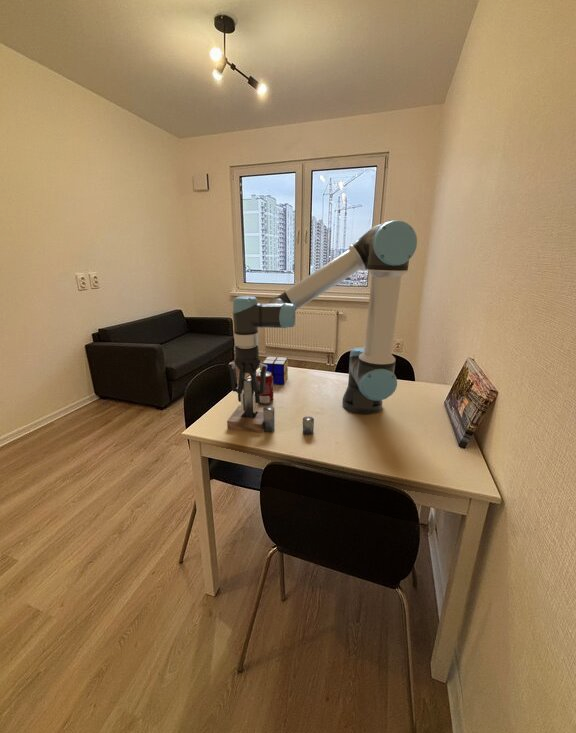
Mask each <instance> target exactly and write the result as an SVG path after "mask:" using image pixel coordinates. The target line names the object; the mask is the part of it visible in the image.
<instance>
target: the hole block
mask: <svg viewBox="0 0 576 733" xmlns="http://www.w3.org/2000/svg"><path fill="white" fill-rule="evenodd" d="M257 408H258V409H257V411H256V413H255V418H245V414H244V412H241V404H239V405H238V406H237V407H236V409H235V410H234V411H232V414H231V415H230V416H229V417H228V419H227V421H226V423H227V424H226V427H227V428H226V429H228V430H235V431H242V432H243V431H244V432H253V433H254V432H255V433H263V432H264V415H263V408H264V407H261V406H257Z"/></svg>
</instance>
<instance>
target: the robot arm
mask: <svg viewBox="0 0 576 733" xmlns="http://www.w3.org/2000/svg"><path fill="white" fill-rule="evenodd" d="M417 246H418V237H417V233H416V231H415V229H414V228H413V227H412V225H410V224H409V223H408V222H405V221H403V220H399V219H397V220H395V219H393V220H387V221H384V222H383V223H379V224H377V225H374V226H373V227H371V228H370V229H369V230H367V231H366V233H364V234H363V235H362V236H361V237H359V238H358V239H356V240H355V241H354V242H352V243H351V244H349V246H348V249H347V250H345V251H344V252H343V253H341V254H340V255H339V256H337V257H335V258H334V259H332V260H330V261H329V262H328V263H325V264H324V265H323V266H322V267H320V268H318V269H317V270H315V271H313V273H311V274H309V275H308V276H306V277H305V278H303V279H302V280H300V281H299V282H297V283H296V284H294V285H293V286H291V287H289V289H287V290H285V291H284V292H282V293H280V294H279V295H277V296H274V297H273V298H271V299H270V300H269V302H268V303H267V302H266V303H261V302H259V301H258V299H257V297H255V296H253V295H250V296H249V295H240V296H236V297H234V298H233V300H232V307H233V308H232V315H233V316H232V317H233V319H232V320H233V330H234V331H233V333H234V345H235V347H234V351H235V353H234V354H235V360H234V361H230V362H229V363H228V364H227V369H228V371H229V375H230V376H229V377H230V383H231V391H232V392H234V393H235V392H236V394H237V401H238V402H240V405H241V412H244V394H243V379H244V378H246V374H249V376H250V378H251V379H252V384H253V388H254V394H253V413H256V411H257V409H258V408H257V407H258V404H260V403H259V401H260V394H263V393H264V391H265V380H266V369H267V367H268V365H267V364H265V365H264V364H262V363H263V362H262V363H261V360H260V351H259V350H260V349H259V345H258V344H259V328H261V329H262V328H275V329H277V328H281V329H286V328H294V327H295V326H296V311H297V310H299V309H301V308H302V307H303V306H305V305H307V304H309V303H310V302H311V301H313V300H314V299H316V298H318V297H319V296H321V295H322V294H324V293H326V292H327V291H329V290H330V289H331V288H334V287H335V286H337V285H338V284H340V283H341V282H343V281H344V280H346V279H348V278H349V277H351V276H352V275H354V274H355V273H357V272H358V271H360V270H361V271H366V270H367V272H368V273H369V274H370V276H371V280H370V290H369V298H368V309H367V310H368V311H367V321H366V330H365V340H364V346H363V347H362V346H361V347H354V348H352V349H351V350H350V354H349V364H348V366H349V367H348V382H347V383H348V384H347V387H346V389H345V392H344V394H343V397H342V400H341V401H342V403H341V404H342V407H344V408H345V410H347V411H349V412H351V413H355V414H360V415H361V414H362V415H372V414H377V413H379V412H380V411H381V410H382V408H383V401H384V400H387V399H388V398H390V397H391V396H393V394H394V393H395V392H396V389H397V387H398V378H397V376H396V374H395V369H396V368H395V367H396V357H395V356H394V355H393V354H392V352H393V344H394V338H395V336H394V335H395V329H396V322H397V313H398V306H399V299H400V293H401V292H400V291H401V284H402V277H403V276H405V274H407V273H408V271H409V265H410V264H409V263H410V260H411V259H412V257H413V256H414V254H415V253H416V250H417ZM236 367H237V369H238V370H239V377H237V369H236ZM258 368H259V370H260V372H261V373H260V388H259V384H258V379H257V373H258V372H257V369H258Z"/></svg>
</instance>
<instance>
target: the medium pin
mask: <svg viewBox="0 0 576 733" xmlns="http://www.w3.org/2000/svg"><path fill="white" fill-rule="evenodd" d="M263 415H264V429H263V432H265V433H268V434H272V433H274V432H275V429H276V428H275V426H276V425H275V422H276V421H275V406H272V405H267V406H265V407H263Z"/></svg>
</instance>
